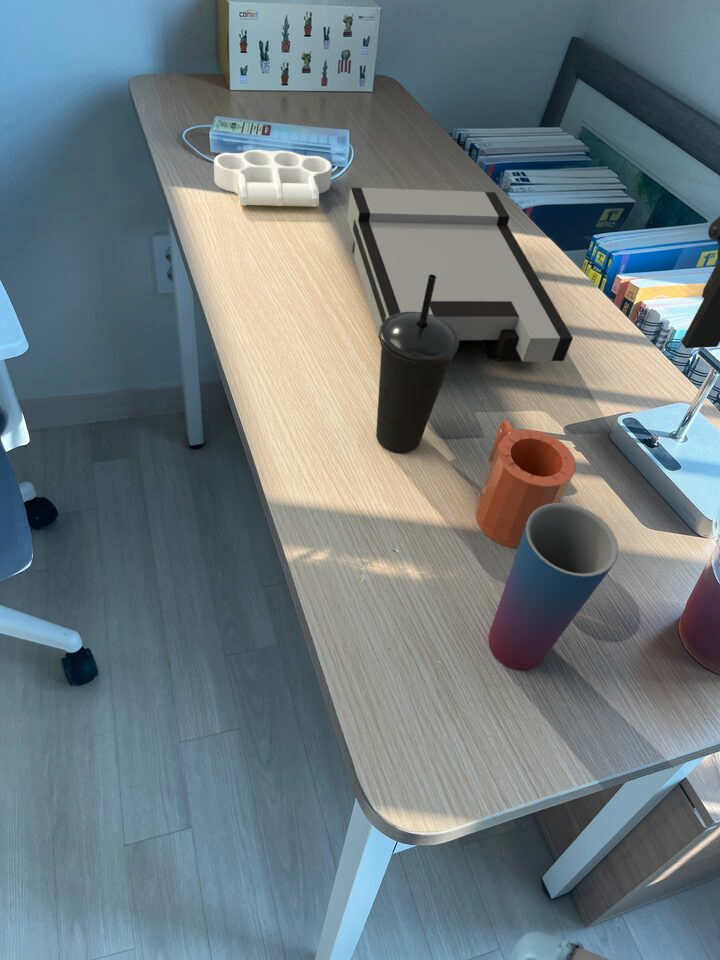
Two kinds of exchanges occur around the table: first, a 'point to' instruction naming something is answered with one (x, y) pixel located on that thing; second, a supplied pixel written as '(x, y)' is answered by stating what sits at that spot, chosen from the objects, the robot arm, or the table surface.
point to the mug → (521, 481)
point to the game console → (454, 269)
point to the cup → (550, 581)
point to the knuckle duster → (273, 177)
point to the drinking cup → (411, 373)
